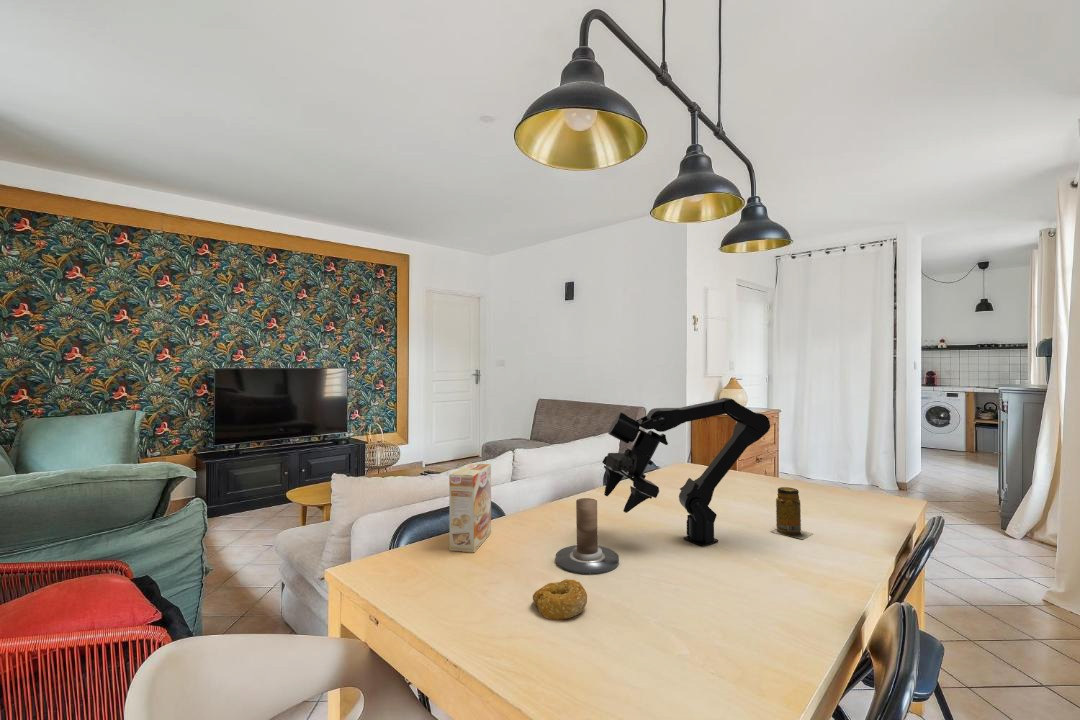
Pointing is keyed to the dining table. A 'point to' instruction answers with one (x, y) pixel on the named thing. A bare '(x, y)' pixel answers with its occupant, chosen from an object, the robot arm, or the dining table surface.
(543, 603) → the bagel
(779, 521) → the condiment
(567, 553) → the base plate
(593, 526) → the wooden peg on stand
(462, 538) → the coffeecake box
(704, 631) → the dining table surface
